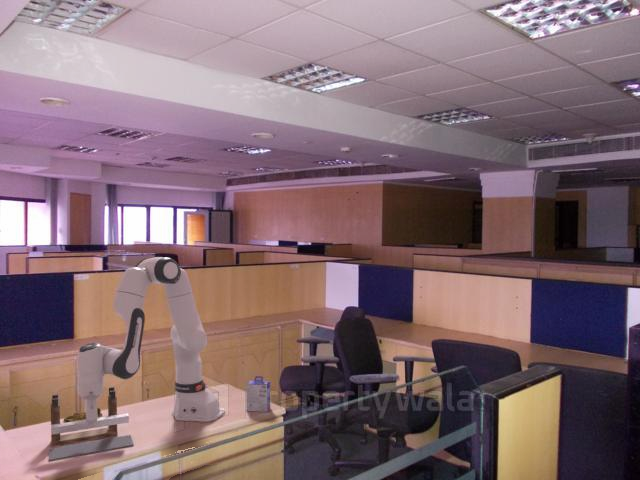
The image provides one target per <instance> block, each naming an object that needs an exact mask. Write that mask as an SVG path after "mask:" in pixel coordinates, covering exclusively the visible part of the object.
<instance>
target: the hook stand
mask: <svg viewBox="0 0 640 480" xmlns="http://www.w3.org/2000/svg"><path fill="white" fill-rule="evenodd" d="M51 396H52V397H51V398H52V399H51V404H50V426H51V425H54V424H60V423H61V405H60V404H61V403H59V394H57V393H56V394H52V395H51ZM117 400H118V399H117V394H116V390H115V386H109V387H108V396H107V413H108V414H107V416H113V415H118V412H117V411H118V406H117V404H118V402H117ZM50 435H51V434H50ZM117 436H119V433H118V424H116V425H109V426H108V427H103V428H97V429H96V428H94V429H88V430H85V431H84V430H82V431H76V432H72V433H71V432H70V433H67V434H61V433H59V434H53V435H51V437H50V438H51V440H50V441H51V442H50V443H51V445H50V447H51V448H53V447H59V446H62V445H64V446H65V445H68V444H69V445H71V444H74V443H75V444H76V443H80V442H81V443H82V442H87V441H92V440H93V441H94V440H98V439H99V440H100V439H103V438H104V439H106V438H111V437H117Z"/></svg>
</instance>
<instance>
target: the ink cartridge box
mask: <svg viewBox="0 0 640 480" xmlns="http://www.w3.org/2000/svg"><path fill="white" fill-rule="evenodd" d="M259 378H260V379H259ZM245 388H246V389H245V390H246V391H245V393H246V394H245V395H246V398H245V399H246V401H245V403H246V404H245V406H246V410H245V411H246V412H262V413H268V412H269V410H271V381H270V380H269V381H268V380H267V381H266V380H265V381H264V376H262V375H261V376H259V375H255V378H254V380H249V381H248V382H247V383H246V387H245Z"/></svg>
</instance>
